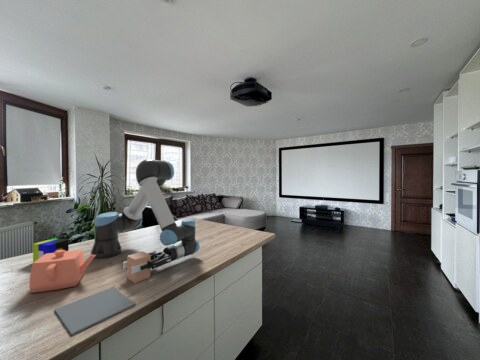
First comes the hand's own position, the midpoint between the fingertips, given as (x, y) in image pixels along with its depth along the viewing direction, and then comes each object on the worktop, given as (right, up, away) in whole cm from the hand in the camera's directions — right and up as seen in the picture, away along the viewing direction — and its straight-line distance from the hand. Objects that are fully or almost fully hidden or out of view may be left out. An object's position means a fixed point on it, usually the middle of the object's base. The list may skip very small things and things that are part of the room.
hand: (127, 267), depth 89 cm
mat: (-1, -6, -18) cm, 19 cm away
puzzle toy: (-53, -5, +22) cm, 57 cm away
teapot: (-25, -6, -1) cm, 26 cm away
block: (+3, -6, +4) cm, 8 cm away
